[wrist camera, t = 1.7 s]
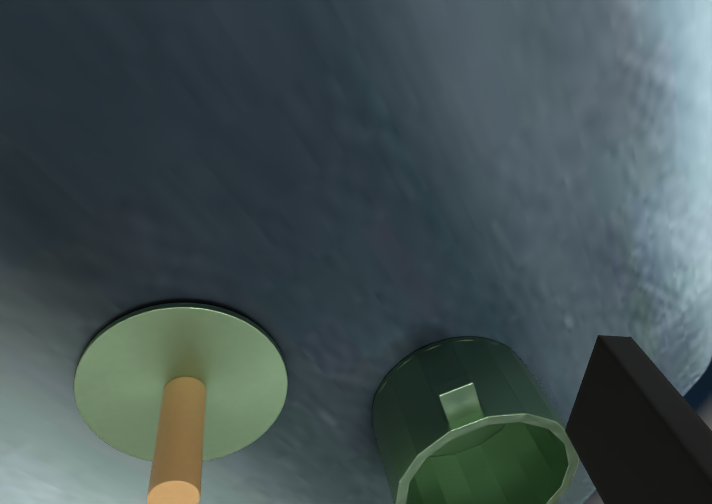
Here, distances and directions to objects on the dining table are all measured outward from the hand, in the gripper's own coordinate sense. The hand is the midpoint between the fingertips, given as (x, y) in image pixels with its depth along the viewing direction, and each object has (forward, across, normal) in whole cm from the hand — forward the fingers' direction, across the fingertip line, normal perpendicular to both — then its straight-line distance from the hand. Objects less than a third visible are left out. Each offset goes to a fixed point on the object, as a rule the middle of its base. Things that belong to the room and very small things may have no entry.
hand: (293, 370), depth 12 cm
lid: (+24, -8, -20) cm, 32 cm away
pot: (+27, +14, -24) cm, 39 cm away
